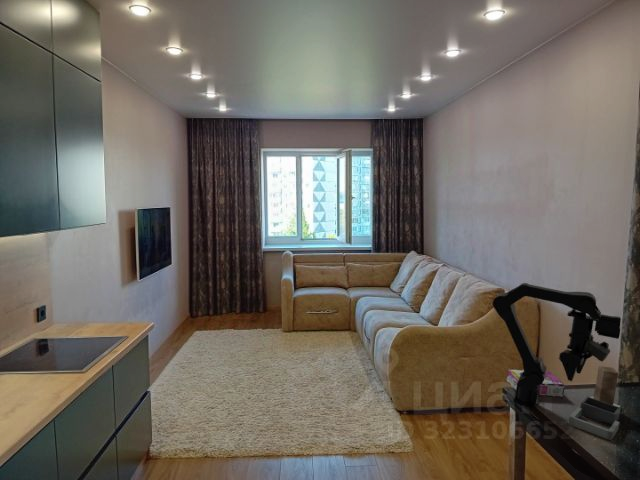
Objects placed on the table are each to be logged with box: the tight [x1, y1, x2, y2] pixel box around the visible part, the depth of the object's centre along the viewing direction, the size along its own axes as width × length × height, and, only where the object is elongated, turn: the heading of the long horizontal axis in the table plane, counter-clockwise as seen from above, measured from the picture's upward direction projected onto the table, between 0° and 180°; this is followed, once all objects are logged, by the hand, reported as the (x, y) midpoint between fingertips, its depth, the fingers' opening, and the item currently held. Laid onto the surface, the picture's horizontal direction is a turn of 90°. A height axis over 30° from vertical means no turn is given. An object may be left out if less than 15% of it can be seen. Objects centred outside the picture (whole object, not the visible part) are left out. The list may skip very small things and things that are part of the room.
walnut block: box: [593, 365, 619, 405], centre depth 161 cm, size 4×4×13 cm
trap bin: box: [579, 396, 621, 427], centre depth 155 cm, size 10×7×4 cm
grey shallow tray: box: [567, 406, 620, 441], centre depth 148 cm, size 12×10×2 cm
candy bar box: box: [506, 369, 566, 398], centre depth 173 cm, size 11×5×16 cm
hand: (574, 376), depth 154 cm, fingers open, 9 cm apart
